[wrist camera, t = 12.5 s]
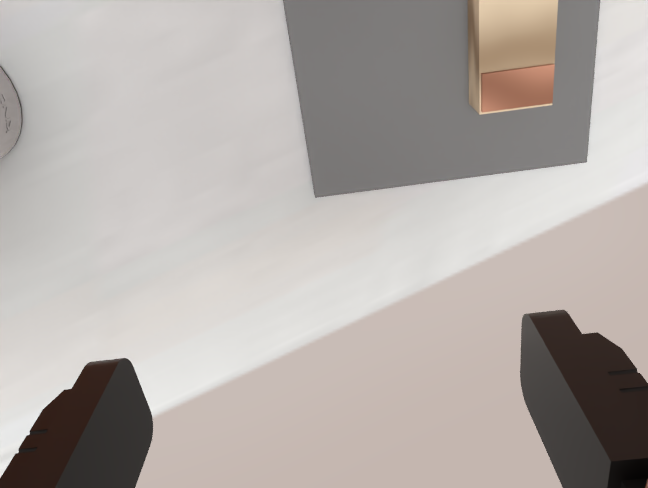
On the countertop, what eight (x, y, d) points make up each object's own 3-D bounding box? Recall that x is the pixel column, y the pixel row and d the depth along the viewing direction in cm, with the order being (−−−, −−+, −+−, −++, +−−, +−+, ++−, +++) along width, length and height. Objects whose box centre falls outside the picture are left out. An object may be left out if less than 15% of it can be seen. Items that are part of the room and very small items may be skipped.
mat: (315, 195, 42) (315, 197, 42) (283, -5, 36) (282, -4, 35) (583, 159, 41) (586, 162, 40) (600, -54, 34) (604, -54, 34)
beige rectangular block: (467, -24, 35) (480, -22, 32) (541, -35, 34) (562, -34, 31) (469, 103, 38) (480, 115, 35) (536, 94, 38) (553, 106, 35)
